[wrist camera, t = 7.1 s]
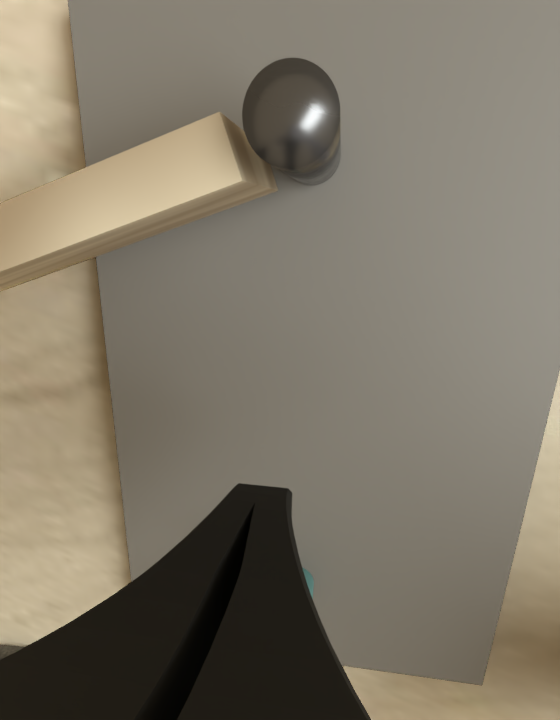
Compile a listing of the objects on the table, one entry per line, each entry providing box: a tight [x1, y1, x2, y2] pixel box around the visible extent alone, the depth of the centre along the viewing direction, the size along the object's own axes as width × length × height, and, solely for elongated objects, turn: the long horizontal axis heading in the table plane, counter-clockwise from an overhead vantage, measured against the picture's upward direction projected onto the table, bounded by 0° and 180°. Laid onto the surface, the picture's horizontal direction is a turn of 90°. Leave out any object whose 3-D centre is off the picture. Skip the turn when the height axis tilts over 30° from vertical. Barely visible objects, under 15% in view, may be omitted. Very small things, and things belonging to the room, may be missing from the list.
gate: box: [0, 112, 278, 291], centre depth 12 cm, size 1×13×5 cm, turn 109°
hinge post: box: [242, 58, 341, 186], centre depth 10 cm, size 2×2×7 cm
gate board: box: [68, 0, 560, 685], centre depth 16 cm, size 15×24×1 cm, turn 178°
